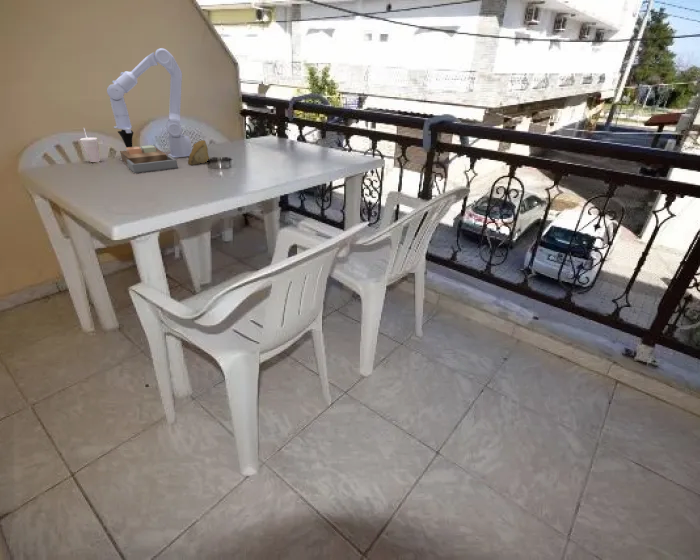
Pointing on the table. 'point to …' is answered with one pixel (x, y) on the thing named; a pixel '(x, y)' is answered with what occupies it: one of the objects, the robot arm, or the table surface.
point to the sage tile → (148, 148)
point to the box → (153, 165)
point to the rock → (198, 153)
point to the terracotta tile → (133, 150)
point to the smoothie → (91, 147)
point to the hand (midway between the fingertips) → (129, 147)
